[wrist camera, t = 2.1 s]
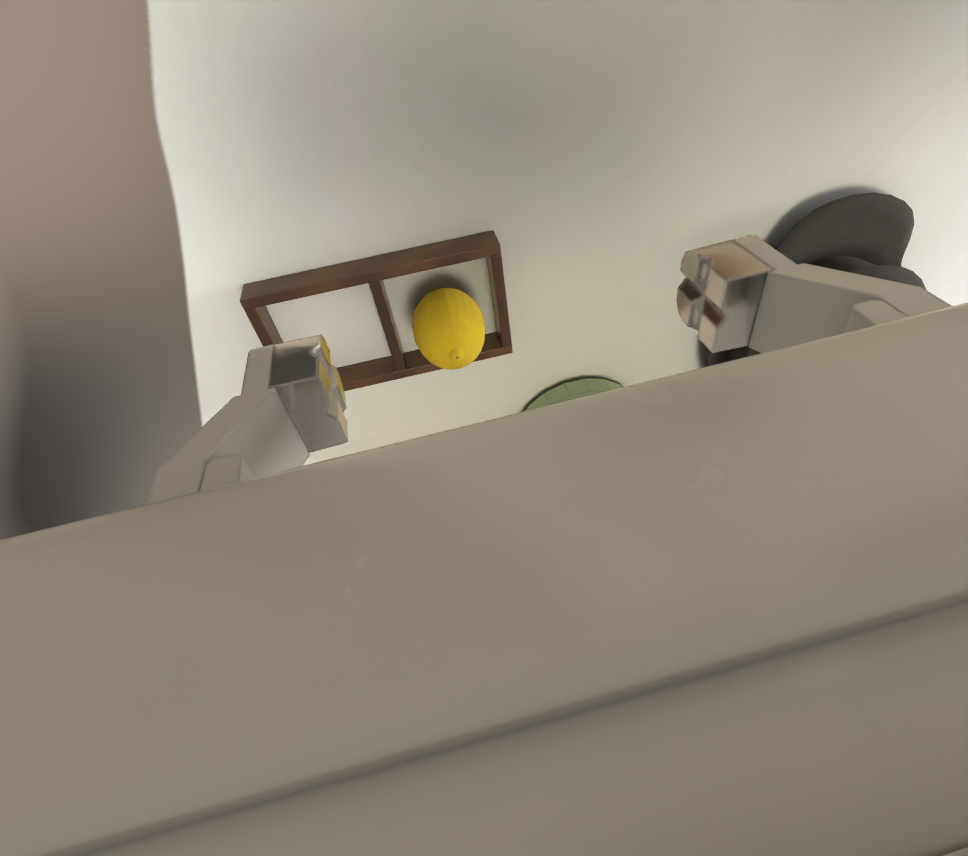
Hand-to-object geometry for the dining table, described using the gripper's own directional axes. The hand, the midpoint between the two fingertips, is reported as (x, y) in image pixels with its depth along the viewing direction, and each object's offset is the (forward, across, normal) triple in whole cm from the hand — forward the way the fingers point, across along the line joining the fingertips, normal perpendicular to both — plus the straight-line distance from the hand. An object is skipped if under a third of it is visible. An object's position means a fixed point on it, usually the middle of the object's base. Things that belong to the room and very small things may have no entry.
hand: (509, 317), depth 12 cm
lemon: (+30, 0, +16) cm, 34 cm away
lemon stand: (+30, +4, +16) cm, 34 cm away
